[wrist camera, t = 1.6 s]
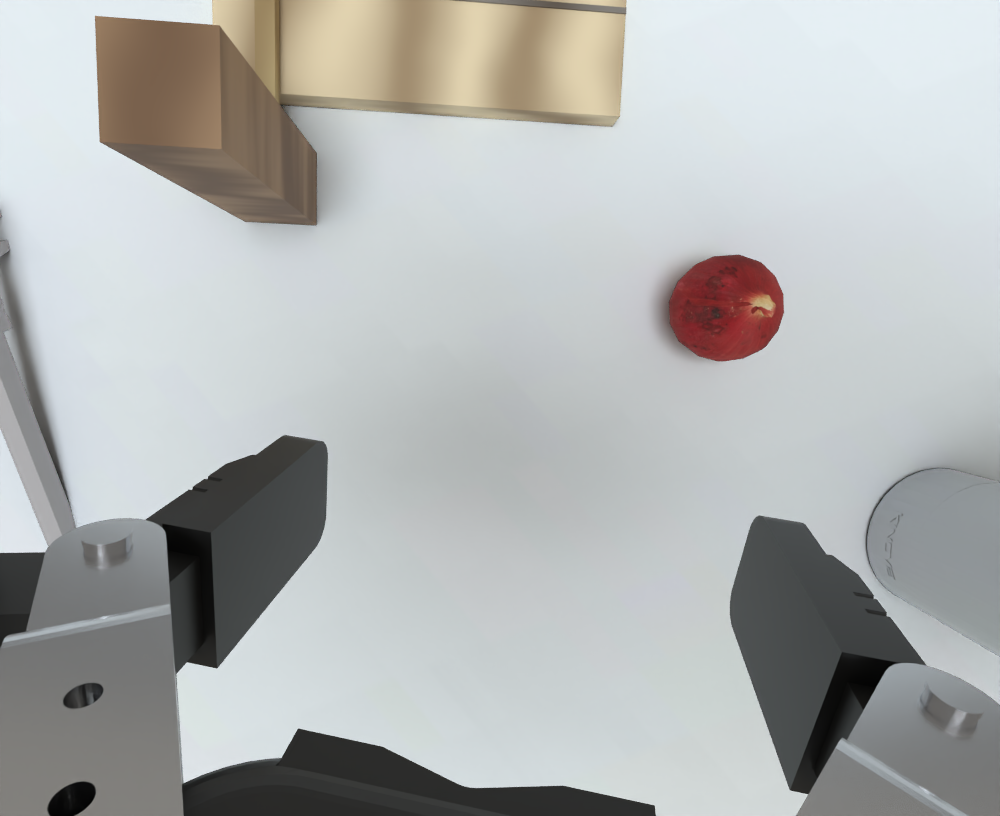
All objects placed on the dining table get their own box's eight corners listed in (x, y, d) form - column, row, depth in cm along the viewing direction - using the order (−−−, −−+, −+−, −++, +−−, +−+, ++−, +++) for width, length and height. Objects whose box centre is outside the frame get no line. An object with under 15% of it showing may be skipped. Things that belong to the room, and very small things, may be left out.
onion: (654, 362, 37) (708, 369, 29) (648, 267, 36) (703, 248, 28) (745, 354, 37) (823, 358, 29) (741, 260, 36) (821, 238, 28)
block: (316, -17, 33) (214, -276, 19) (316, 225, 34) (221, 149, 20) (242, -23, 33) (83, -290, 19) (245, 221, 34) (99, 141, 20)
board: (620, -20, 34) (629, -39, 32) (612, 126, 35) (620, 115, 33) (222, -54, 32) (210, -76, 31) (225, 101, 33) (213, 88, 32)
